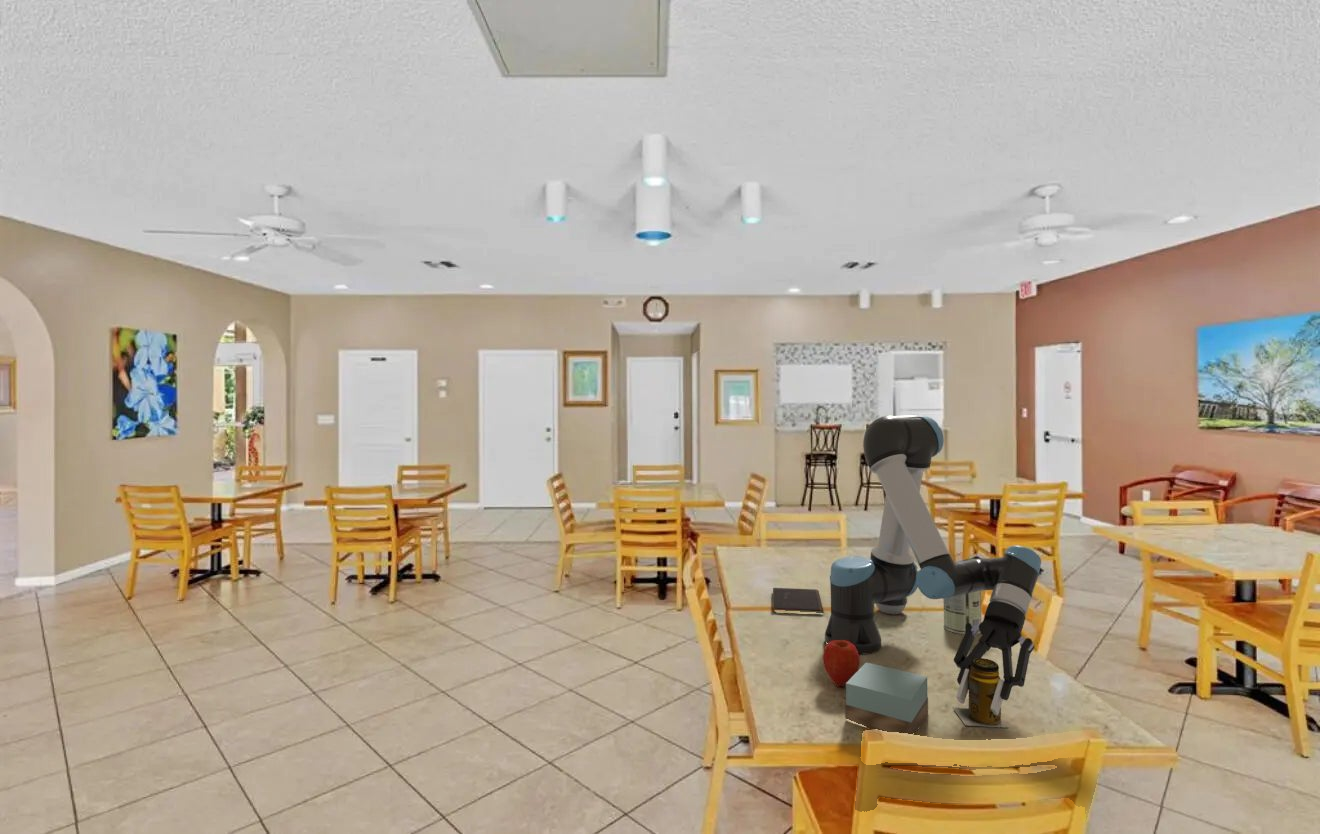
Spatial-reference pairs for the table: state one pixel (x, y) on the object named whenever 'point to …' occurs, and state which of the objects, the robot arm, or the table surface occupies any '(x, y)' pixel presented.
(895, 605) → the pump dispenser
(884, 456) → the robot arm
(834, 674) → the apple
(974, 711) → the condiment
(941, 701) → the table surface
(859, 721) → the tower base
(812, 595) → the hardcover book
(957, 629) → the coffee can
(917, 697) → the tower top
